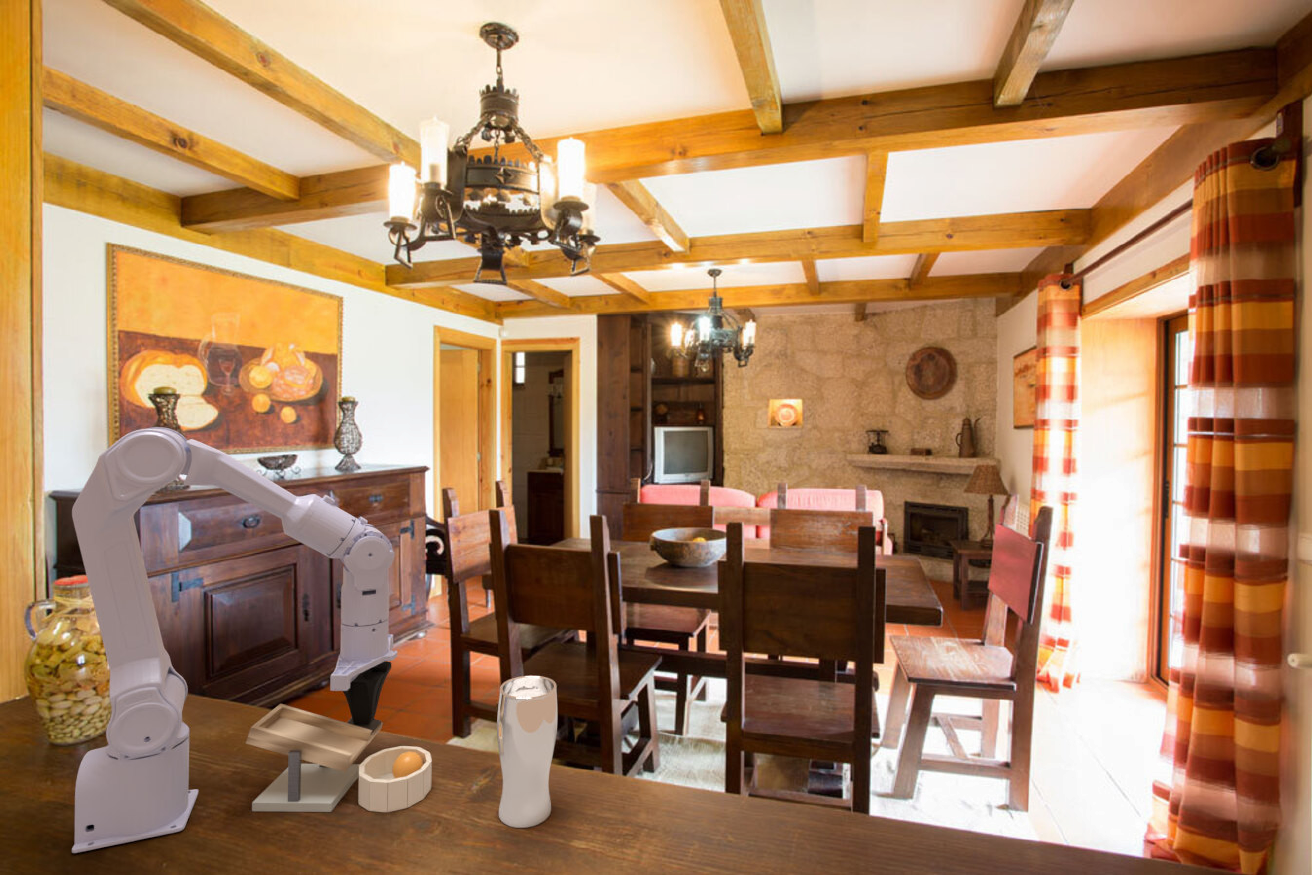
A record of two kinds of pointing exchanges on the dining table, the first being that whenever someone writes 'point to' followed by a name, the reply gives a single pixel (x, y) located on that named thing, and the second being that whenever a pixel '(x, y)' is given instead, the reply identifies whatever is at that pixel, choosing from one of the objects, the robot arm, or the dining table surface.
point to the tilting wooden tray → (312, 736)
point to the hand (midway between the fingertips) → (363, 722)
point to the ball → (406, 764)
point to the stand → (306, 787)
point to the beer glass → (526, 748)
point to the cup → (392, 781)
